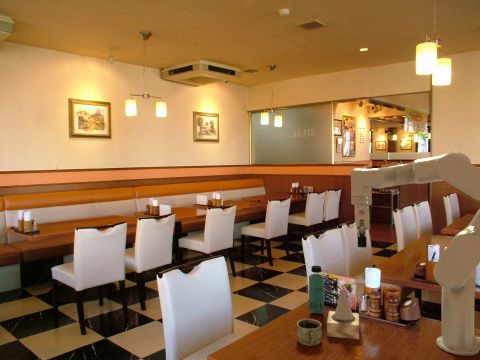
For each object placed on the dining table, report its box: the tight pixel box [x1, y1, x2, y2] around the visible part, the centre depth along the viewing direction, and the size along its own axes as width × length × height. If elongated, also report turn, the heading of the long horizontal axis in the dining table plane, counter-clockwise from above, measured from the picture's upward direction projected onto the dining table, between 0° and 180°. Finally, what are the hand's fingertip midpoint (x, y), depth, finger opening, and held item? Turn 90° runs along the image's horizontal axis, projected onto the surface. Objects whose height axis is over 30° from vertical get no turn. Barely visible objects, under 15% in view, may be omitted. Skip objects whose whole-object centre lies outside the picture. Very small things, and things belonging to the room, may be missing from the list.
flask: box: [334, 289, 354, 321], centre depth 146 cm, size 7×7×10 cm
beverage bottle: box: [308, 264, 326, 314], centre depth 162 cm, size 6×7×20 cm
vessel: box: [296, 318, 323, 347], centre depth 139 cm, size 12×9×6 cm
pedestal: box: [326, 310, 360, 340], centre depth 146 cm, size 11×11×5 cm
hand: (361, 244), depth 153 cm, fingers open, 9 cm apart
